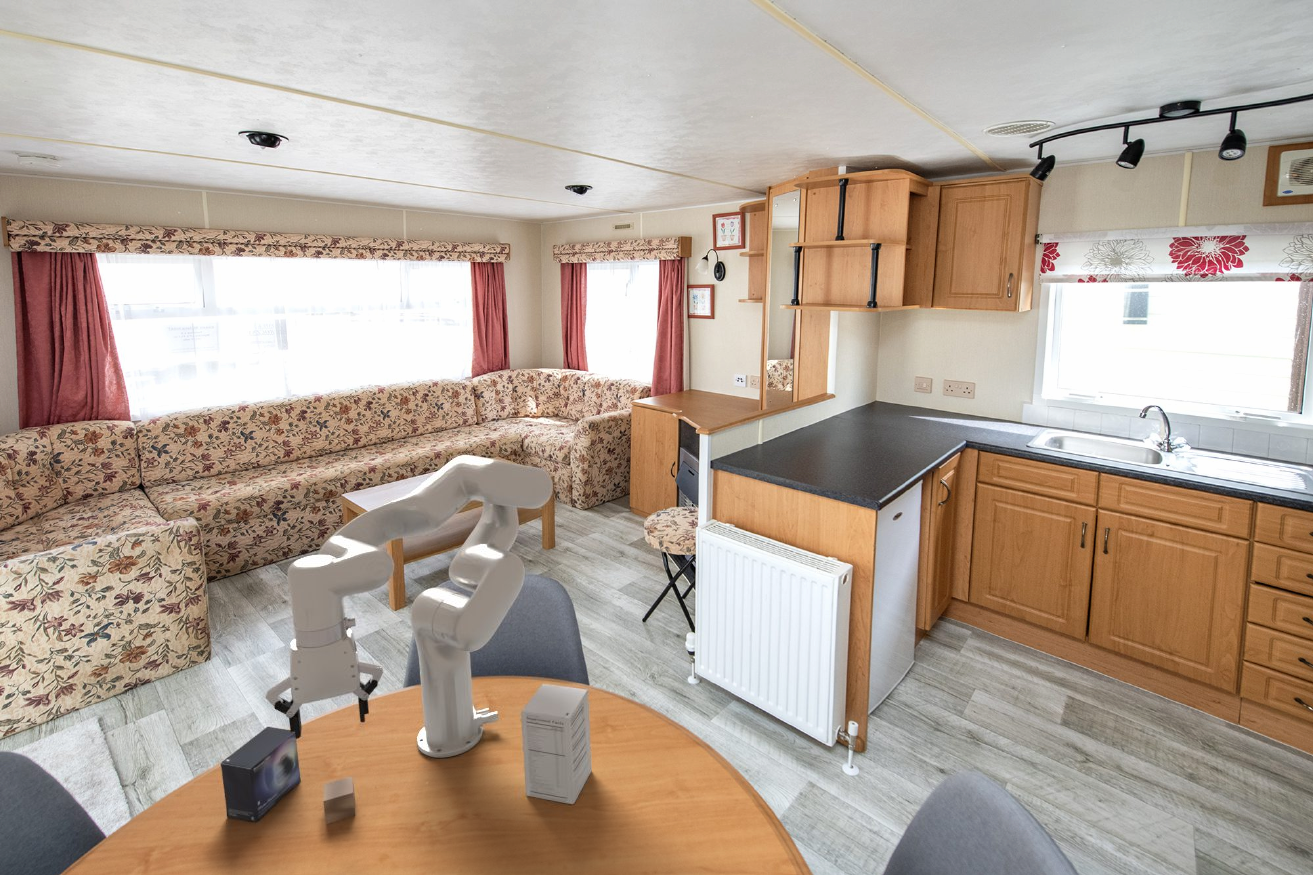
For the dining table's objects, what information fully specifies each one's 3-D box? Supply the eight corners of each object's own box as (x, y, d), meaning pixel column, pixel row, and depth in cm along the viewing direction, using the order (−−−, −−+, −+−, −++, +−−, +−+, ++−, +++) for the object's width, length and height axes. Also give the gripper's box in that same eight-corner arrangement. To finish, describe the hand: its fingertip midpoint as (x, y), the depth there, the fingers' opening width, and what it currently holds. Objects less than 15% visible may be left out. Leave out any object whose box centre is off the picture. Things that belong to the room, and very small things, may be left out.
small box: (258, 824, 109) (250, 768, 107) (225, 818, 110) (217, 763, 108) (303, 780, 119) (297, 729, 117) (273, 775, 121) (266, 725, 119)
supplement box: (593, 770, 121) (590, 688, 118) (574, 806, 113) (571, 718, 109) (545, 761, 124) (542, 681, 121) (524, 795, 115) (519, 710, 112)
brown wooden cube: (355, 798, 115) (352, 775, 114) (355, 815, 111) (353, 792, 110) (326, 806, 113) (323, 783, 112) (326, 824, 109) (323, 801, 108)
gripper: (377, 611, 113) (385, 700, 116) (261, 632, 105) (274, 727, 109) (379, 630, 106) (388, 724, 109) (256, 653, 99) (269, 754, 102)
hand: (331, 725), depth 109 cm, fingers open, 9 cm apart
